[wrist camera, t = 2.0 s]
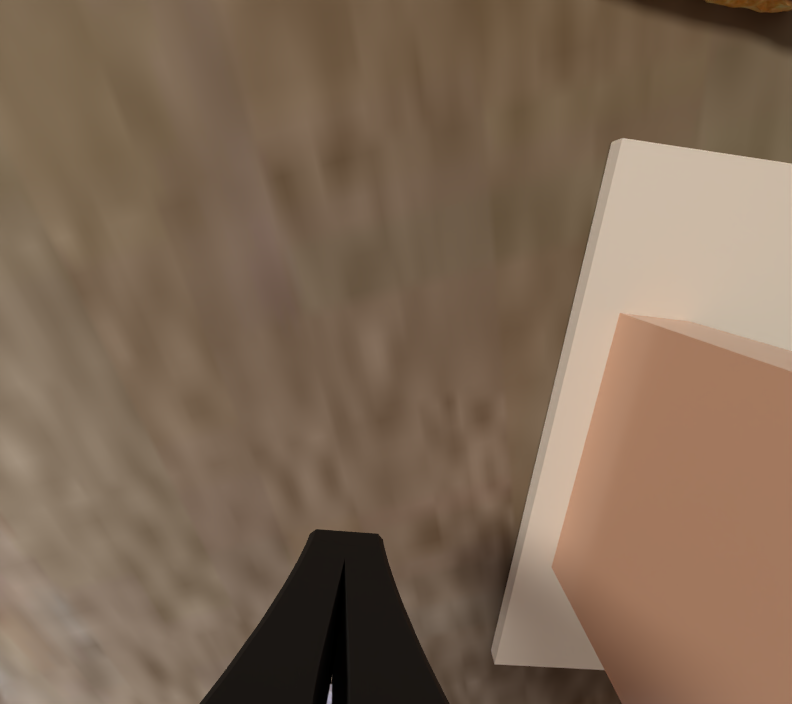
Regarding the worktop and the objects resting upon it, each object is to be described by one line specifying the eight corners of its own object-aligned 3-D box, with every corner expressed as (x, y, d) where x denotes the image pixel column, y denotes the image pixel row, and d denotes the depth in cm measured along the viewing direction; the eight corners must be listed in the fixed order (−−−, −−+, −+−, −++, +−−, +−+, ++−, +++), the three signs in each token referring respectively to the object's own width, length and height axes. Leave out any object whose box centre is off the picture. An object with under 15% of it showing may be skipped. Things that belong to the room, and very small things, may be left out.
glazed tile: (616, 572, 17) (875, 940, 8) (551, 567, 16) (744, 939, 8) (697, 322, 14) (1215, 471, 5) (619, 312, 14) (1028, 452, 5)
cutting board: (832, 669, 20) (846, 682, 19) (490, 650, 18) (494, 664, 18) (1072, 211, 14) (1102, 211, 14) (611, 142, 13) (622, 138, 12)
